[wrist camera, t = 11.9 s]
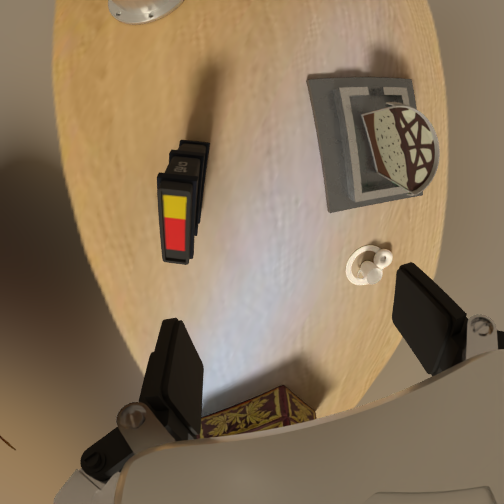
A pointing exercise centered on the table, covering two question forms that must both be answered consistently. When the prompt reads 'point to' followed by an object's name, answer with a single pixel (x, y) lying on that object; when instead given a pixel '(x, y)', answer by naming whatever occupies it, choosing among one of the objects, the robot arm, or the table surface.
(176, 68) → the table surface
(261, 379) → the table surface
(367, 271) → the white curved piece
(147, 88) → the table surface
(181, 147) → the black tall block
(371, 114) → the food container
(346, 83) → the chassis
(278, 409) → the decorative box
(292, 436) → the robot arm
